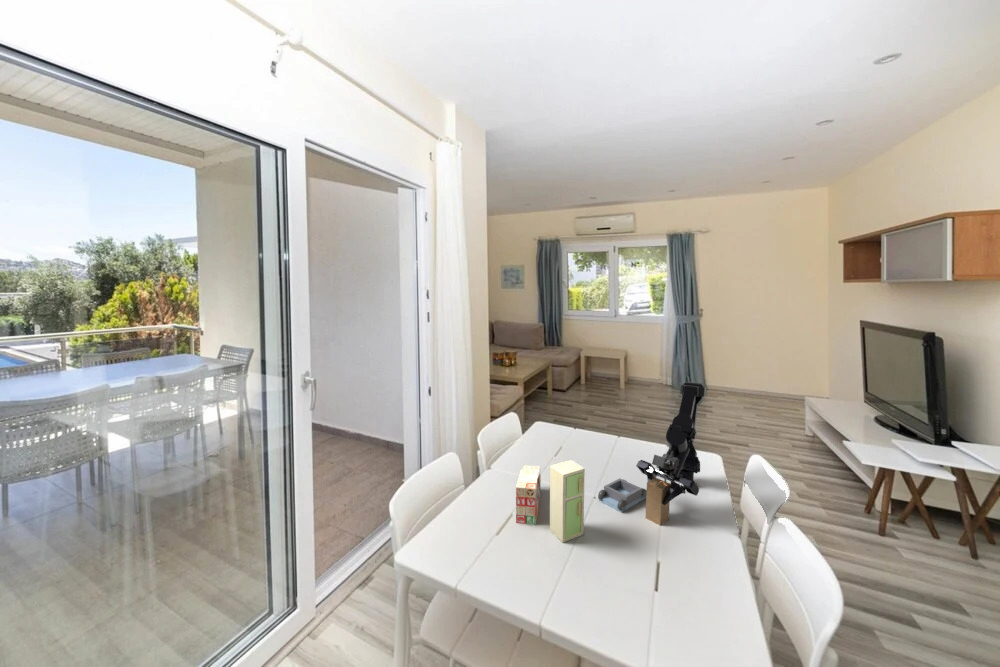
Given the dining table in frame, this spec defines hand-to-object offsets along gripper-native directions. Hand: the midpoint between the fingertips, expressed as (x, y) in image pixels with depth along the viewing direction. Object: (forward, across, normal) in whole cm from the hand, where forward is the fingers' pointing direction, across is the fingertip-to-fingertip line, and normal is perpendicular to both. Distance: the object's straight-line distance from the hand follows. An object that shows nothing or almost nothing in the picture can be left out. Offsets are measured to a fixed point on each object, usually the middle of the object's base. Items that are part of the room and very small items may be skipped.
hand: (655, 500), depth 121 cm
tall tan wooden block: (+4, 0, +6) cm, 7 cm away
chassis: (+3, -14, +6) cm, 15 cm away
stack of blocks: (+23, -31, -13) cm, 41 cm away
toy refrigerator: (+24, -12, -14) cm, 30 cm away
